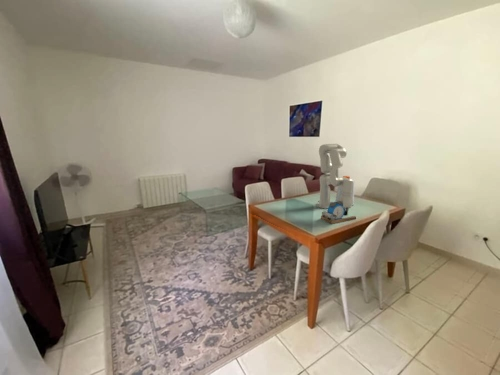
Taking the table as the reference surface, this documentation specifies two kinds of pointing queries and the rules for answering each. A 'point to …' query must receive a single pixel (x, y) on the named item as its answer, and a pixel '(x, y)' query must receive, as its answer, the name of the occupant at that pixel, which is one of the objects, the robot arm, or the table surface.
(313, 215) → the table surface
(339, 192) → the plastic bottle
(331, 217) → the winch
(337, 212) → the alarm clock
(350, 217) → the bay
